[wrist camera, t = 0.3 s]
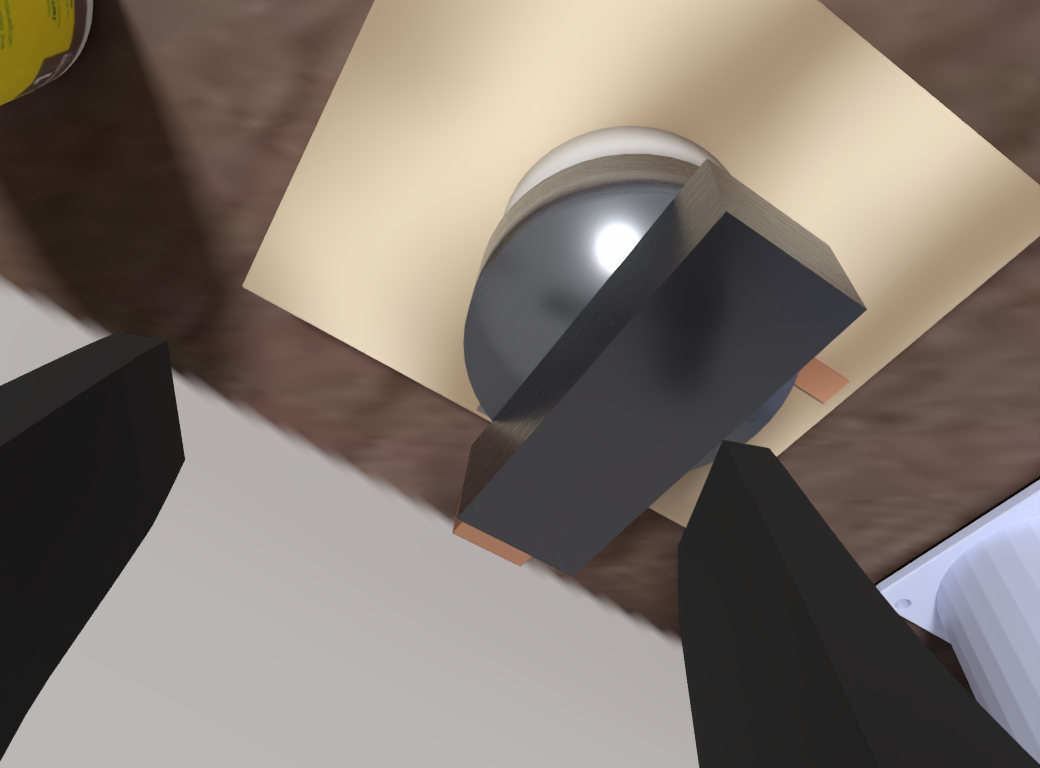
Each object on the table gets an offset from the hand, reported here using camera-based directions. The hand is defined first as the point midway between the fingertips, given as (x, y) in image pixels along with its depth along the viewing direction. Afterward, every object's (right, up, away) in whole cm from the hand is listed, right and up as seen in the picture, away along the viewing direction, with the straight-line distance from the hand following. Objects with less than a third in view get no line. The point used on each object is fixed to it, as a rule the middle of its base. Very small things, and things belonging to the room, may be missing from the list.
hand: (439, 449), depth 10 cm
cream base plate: (+4, +5, +9) cm, 10 cm away
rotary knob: (+3, +2, +5) cm, 6 cm away
